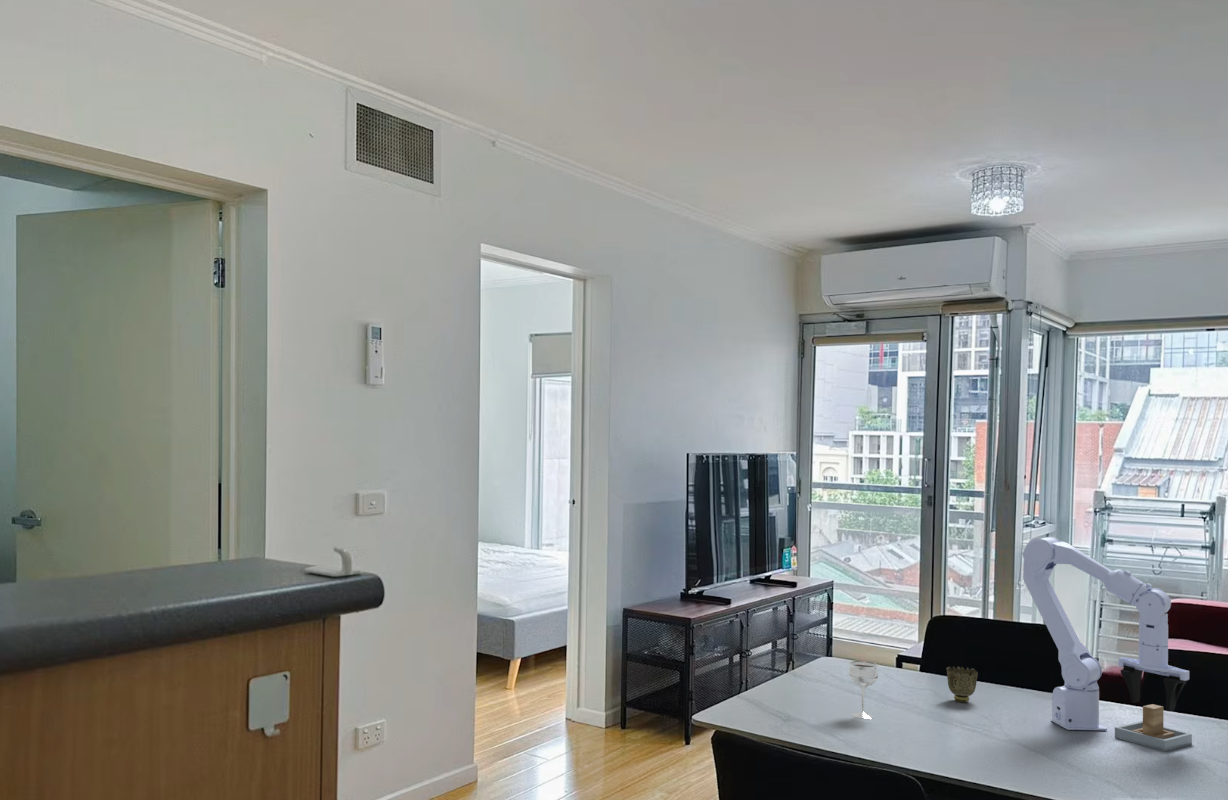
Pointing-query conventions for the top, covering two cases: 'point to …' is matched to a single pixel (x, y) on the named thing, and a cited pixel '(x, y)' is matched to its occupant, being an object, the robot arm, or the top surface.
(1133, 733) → the grey tray
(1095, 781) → the top surface
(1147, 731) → the tan wooden tall block
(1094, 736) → the top surface
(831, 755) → the top surface
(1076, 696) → the robot arm
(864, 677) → the wineglass
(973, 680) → the cup
